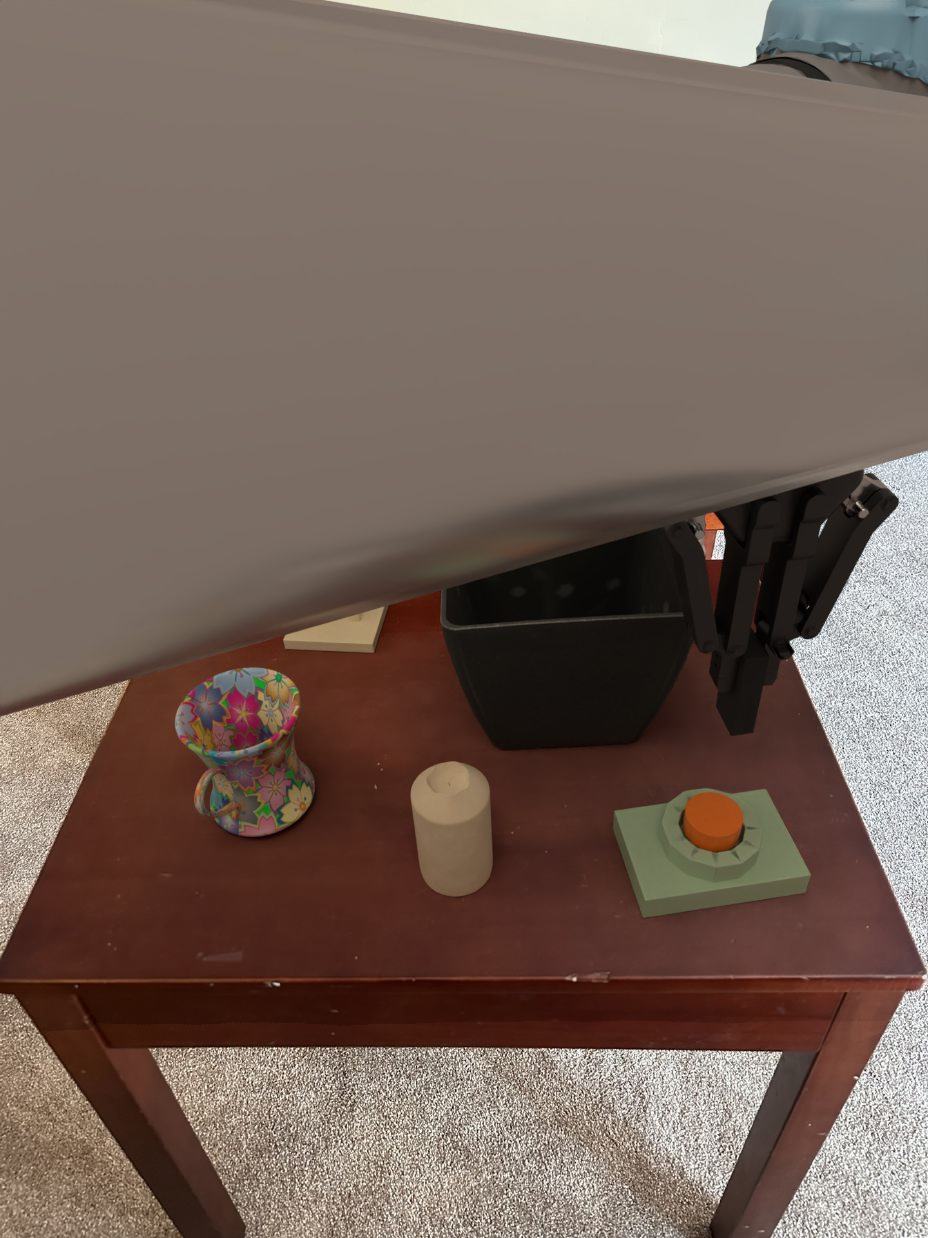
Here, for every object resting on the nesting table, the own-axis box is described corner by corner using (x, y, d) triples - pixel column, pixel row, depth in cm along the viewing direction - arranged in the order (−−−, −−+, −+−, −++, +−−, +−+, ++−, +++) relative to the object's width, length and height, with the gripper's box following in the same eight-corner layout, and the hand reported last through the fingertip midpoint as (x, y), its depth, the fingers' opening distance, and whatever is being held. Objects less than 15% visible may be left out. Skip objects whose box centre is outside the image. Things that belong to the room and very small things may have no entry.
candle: (494, 896, 65) (490, 807, 59) (419, 899, 65) (406, 810, 59) (492, 835, 69) (488, 746, 63) (421, 837, 70) (410, 749, 63)
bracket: (374, 653, 87) (355, 524, 78) (284, 649, 88) (255, 522, 79) (394, 585, 96) (379, 462, 86) (313, 583, 97) (289, 461, 88)
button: (693, 856, 63) (696, 840, 62) (675, 811, 66) (677, 796, 65) (748, 847, 63) (752, 832, 62) (727, 804, 66) (730, 788, 65)
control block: (642, 918, 63) (647, 885, 61) (612, 828, 69) (615, 794, 67) (805, 893, 64) (816, 859, 62) (761, 806, 70) (769, 772, 68)
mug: (239, 750, 78) (211, 659, 71) (338, 768, 76) (319, 676, 69) (169, 863, 69) (129, 770, 62) (279, 887, 67) (250, 794, 60)
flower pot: (453, 783, 74) (439, 625, 63) (452, 636, 89) (441, 488, 78) (684, 773, 73) (709, 612, 63) (644, 627, 88) (659, 477, 78)
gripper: (889, 329, 46) (805, 667, 61) (644, 356, 45) (619, 693, 60) (973, 389, 40) (858, 747, 55) (694, 422, 40) (653, 777, 54)
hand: (734, 719), depth 58 cm, fingers closed
